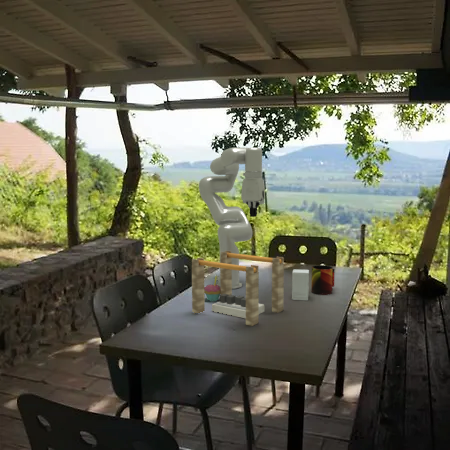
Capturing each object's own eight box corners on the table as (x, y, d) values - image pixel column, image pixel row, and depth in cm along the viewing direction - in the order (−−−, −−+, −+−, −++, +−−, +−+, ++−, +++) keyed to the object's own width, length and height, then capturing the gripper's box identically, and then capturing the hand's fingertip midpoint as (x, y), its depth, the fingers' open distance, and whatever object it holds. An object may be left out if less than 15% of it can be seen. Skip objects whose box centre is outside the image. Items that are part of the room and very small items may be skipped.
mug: (334, 288, 241) (334, 264, 240) (330, 295, 228) (331, 270, 227) (314, 287, 245) (314, 263, 243) (309, 293, 232) (310, 268, 230)
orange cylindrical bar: (221, 256, 217) (221, 252, 217) (224, 256, 219) (224, 251, 219) (280, 264, 201) (280, 259, 201) (282, 263, 202) (282, 258, 202)
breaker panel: (212, 311, 205) (211, 297, 204) (228, 304, 214) (228, 291, 214) (248, 319, 194) (248, 304, 194) (264, 311, 204) (264, 297, 203)
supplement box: (308, 300, 220) (308, 273, 218) (291, 299, 221) (291, 272, 220) (308, 296, 227) (309, 269, 226) (292, 295, 229) (292, 268, 227)
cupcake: (225, 298, 224) (225, 272, 222) (217, 303, 216) (217, 276, 214) (208, 296, 227) (208, 271, 226) (199, 301, 220) (199, 275, 218)
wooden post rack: (192, 312, 203) (191, 259, 200) (226, 299, 222) (226, 250, 220) (252, 326, 186) (252, 267, 183) (283, 310, 206) (283, 257, 203)
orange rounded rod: (193, 264, 201) (193, 259, 201) (196, 263, 203) (196, 259, 202) (254, 273, 185) (254, 268, 184) (257, 272, 186) (257, 267, 186)
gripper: (234, 175, 221) (234, 216, 224) (263, 176, 213) (263, 218, 215) (243, 175, 227) (243, 214, 230) (272, 175, 219) (271, 216, 221)
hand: (253, 216), depth 222 cm, fingers closed
